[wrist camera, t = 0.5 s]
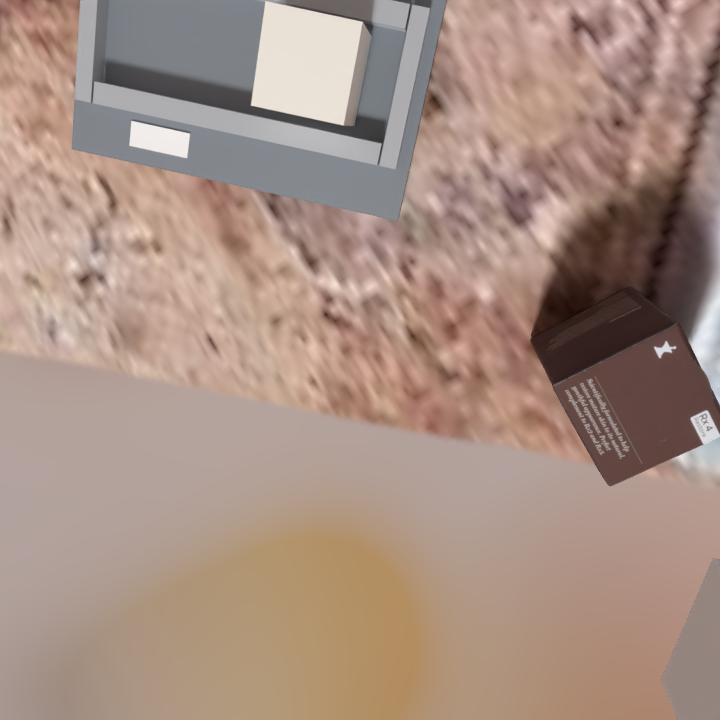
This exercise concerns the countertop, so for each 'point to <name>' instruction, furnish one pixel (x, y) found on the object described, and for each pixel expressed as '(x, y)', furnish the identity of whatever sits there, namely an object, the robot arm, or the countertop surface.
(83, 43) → the grey compartment tray
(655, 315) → the box
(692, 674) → the robot arm
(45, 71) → the countertop surface
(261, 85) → the tab
